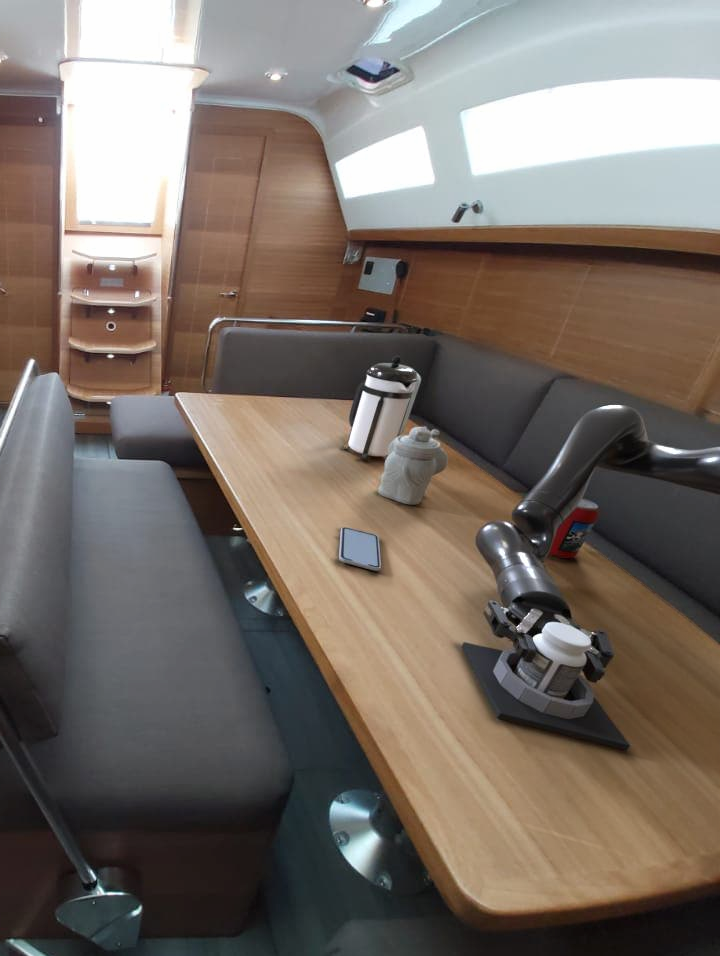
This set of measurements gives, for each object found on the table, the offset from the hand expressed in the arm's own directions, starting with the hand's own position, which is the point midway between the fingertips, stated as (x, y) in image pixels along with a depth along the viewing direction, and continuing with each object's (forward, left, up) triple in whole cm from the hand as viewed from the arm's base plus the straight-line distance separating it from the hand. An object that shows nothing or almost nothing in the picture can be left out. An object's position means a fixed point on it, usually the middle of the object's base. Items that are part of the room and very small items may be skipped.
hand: (561, 666), depth 66 cm
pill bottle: (0, -2, -6) cm, 7 cm away
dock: (-1, -2, -7) cm, 8 cm away
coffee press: (+7, -96, -7) cm, 97 cm away
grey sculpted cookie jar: (+1, -69, -7) cm, 70 cm away
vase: (-3, -117, -7) cm, 118 cm away
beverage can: (-23, -49, -7) cm, 55 cm away
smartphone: (+17, -34, -7) cm, 39 cm away
